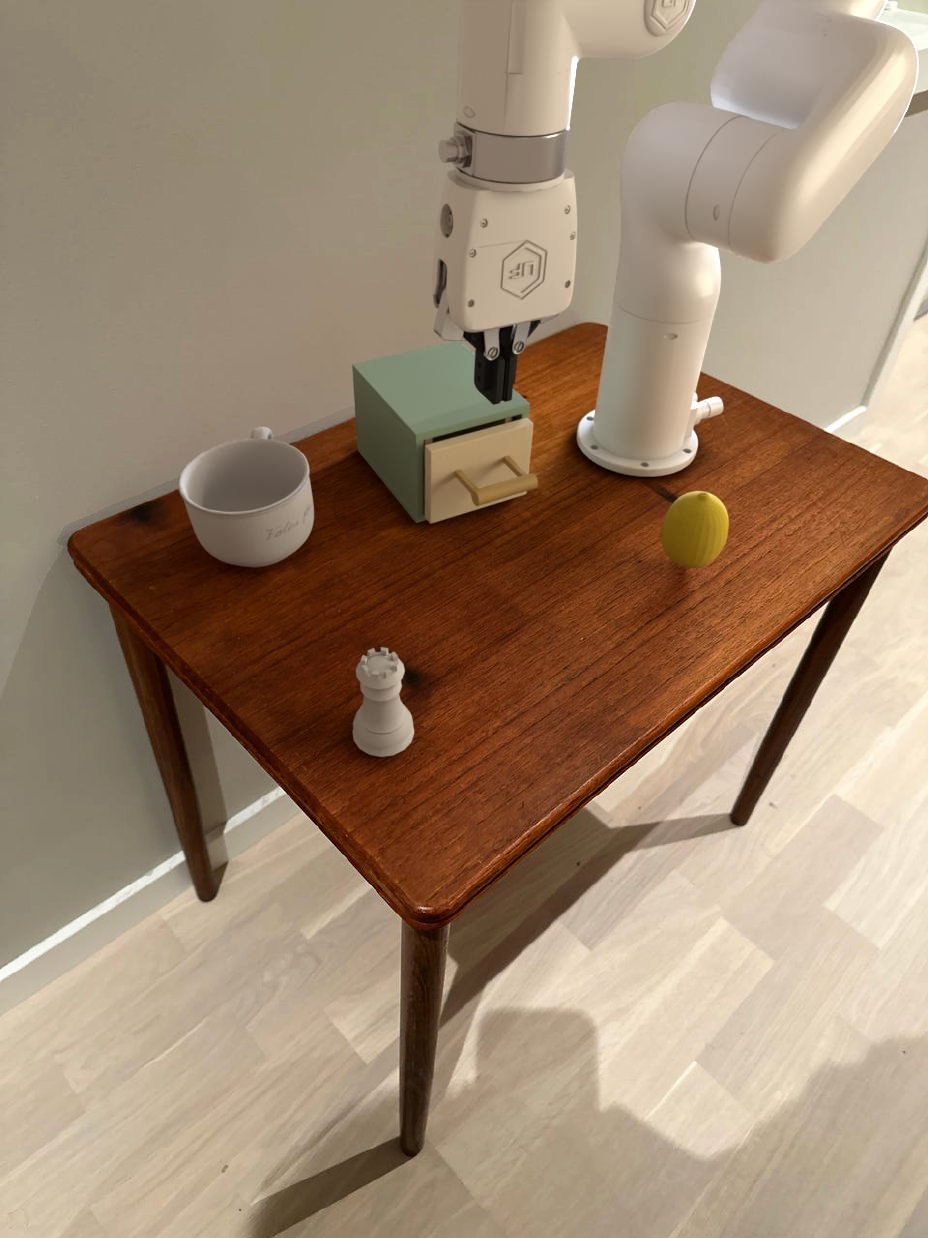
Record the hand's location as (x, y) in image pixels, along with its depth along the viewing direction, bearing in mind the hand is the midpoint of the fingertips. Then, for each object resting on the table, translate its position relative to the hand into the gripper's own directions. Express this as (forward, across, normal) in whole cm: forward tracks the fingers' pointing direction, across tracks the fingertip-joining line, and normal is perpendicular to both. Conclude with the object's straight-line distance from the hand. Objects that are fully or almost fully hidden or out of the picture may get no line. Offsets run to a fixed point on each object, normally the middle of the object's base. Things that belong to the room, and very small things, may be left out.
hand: (493, 394), depth 71 cm
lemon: (+14, +13, -13) cm, 23 cm away
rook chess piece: (+14, -19, -18) cm, 29 cm away
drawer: (+13, 0, +5) cm, 14 cm away
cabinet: (+14, 0, +10) cm, 17 cm away
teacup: (+14, -19, +8) cm, 25 cm away
